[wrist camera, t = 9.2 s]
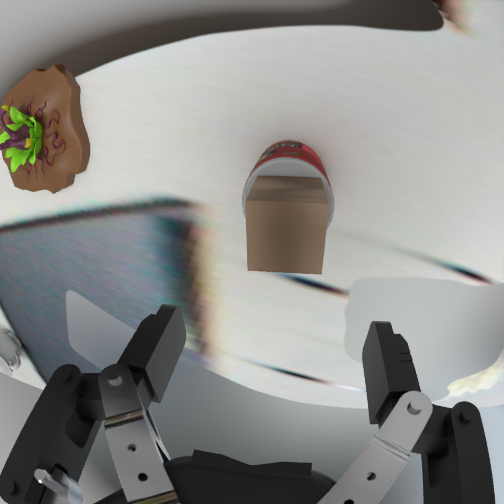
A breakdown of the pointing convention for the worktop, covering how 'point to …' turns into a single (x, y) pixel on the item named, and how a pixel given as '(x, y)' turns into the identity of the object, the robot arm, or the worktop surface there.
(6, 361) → the teacup
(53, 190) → the plant
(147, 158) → the worktop surface
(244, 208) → the canned food
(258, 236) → the walnut block
